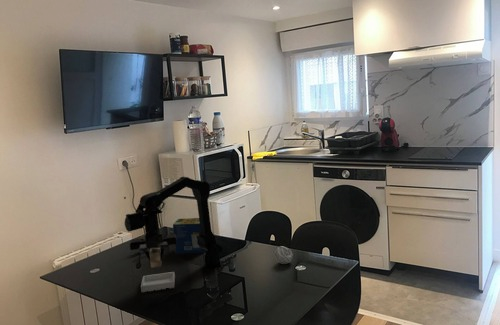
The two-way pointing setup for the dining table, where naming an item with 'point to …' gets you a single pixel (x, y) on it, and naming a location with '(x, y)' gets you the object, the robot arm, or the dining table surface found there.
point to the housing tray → (158, 281)
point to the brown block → (155, 257)
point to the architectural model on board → (142, 240)
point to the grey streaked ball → (283, 255)
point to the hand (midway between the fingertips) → (156, 261)
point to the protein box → (187, 235)
